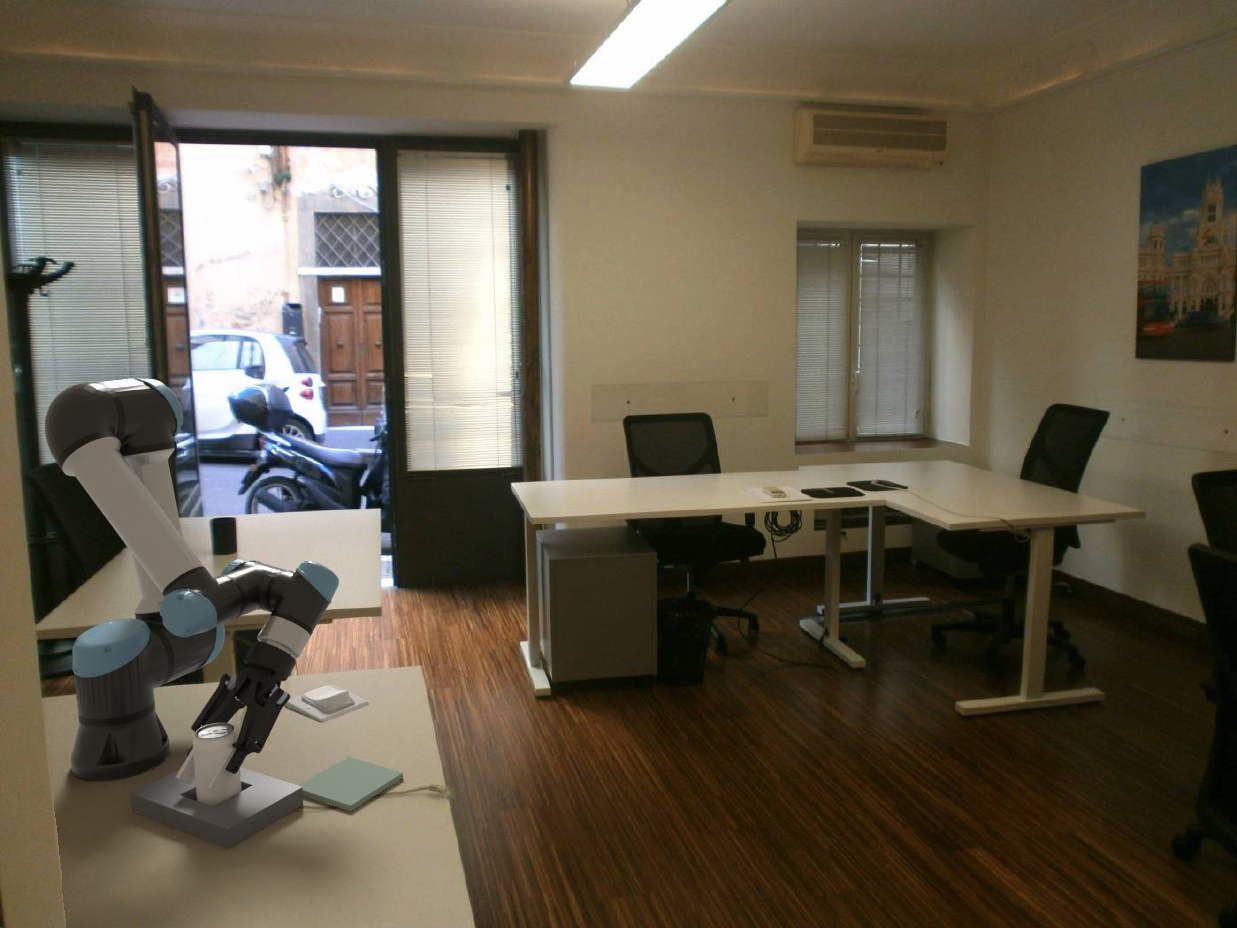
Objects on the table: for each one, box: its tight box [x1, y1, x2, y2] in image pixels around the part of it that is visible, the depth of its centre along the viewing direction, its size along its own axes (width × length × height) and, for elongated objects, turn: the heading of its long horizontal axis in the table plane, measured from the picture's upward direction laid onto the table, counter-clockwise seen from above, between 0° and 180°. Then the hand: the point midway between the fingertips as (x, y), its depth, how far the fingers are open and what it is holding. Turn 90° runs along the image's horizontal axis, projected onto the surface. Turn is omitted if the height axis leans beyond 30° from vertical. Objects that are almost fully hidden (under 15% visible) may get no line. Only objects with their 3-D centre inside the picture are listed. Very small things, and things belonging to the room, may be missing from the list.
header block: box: [129, 766, 304, 849], centre depth 150 cm, size 22×14×3 cm, turn 61°
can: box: [192, 722, 241, 807], centre depth 150 cm, size 6×6×12 cm
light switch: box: [284, 683, 370, 723], centre depth 189 cm, size 11×4×13 cm
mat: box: [298, 756, 404, 813], centre depth 157 cm, size 12×12×1 cm
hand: (198, 785), depth 147 cm, fingers closed on can, 6 cm apart
